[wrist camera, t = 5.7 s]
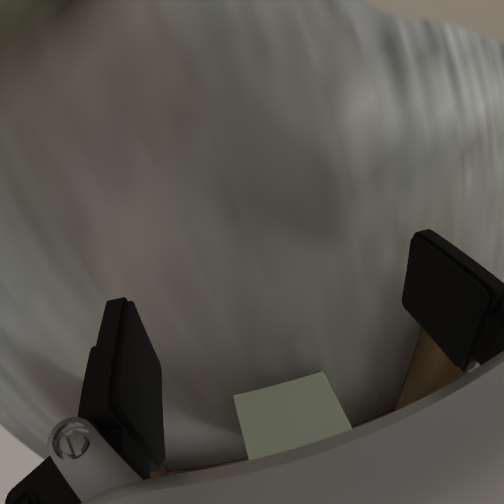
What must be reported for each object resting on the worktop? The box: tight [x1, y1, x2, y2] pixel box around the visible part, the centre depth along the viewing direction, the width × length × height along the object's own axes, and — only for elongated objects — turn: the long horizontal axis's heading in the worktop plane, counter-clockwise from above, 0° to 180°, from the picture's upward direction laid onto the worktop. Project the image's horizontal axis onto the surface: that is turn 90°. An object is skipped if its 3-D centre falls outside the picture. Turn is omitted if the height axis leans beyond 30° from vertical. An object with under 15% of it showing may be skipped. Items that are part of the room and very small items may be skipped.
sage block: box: [233, 371, 352, 460], centre depth 14 cm, size 5×5×8 cm
